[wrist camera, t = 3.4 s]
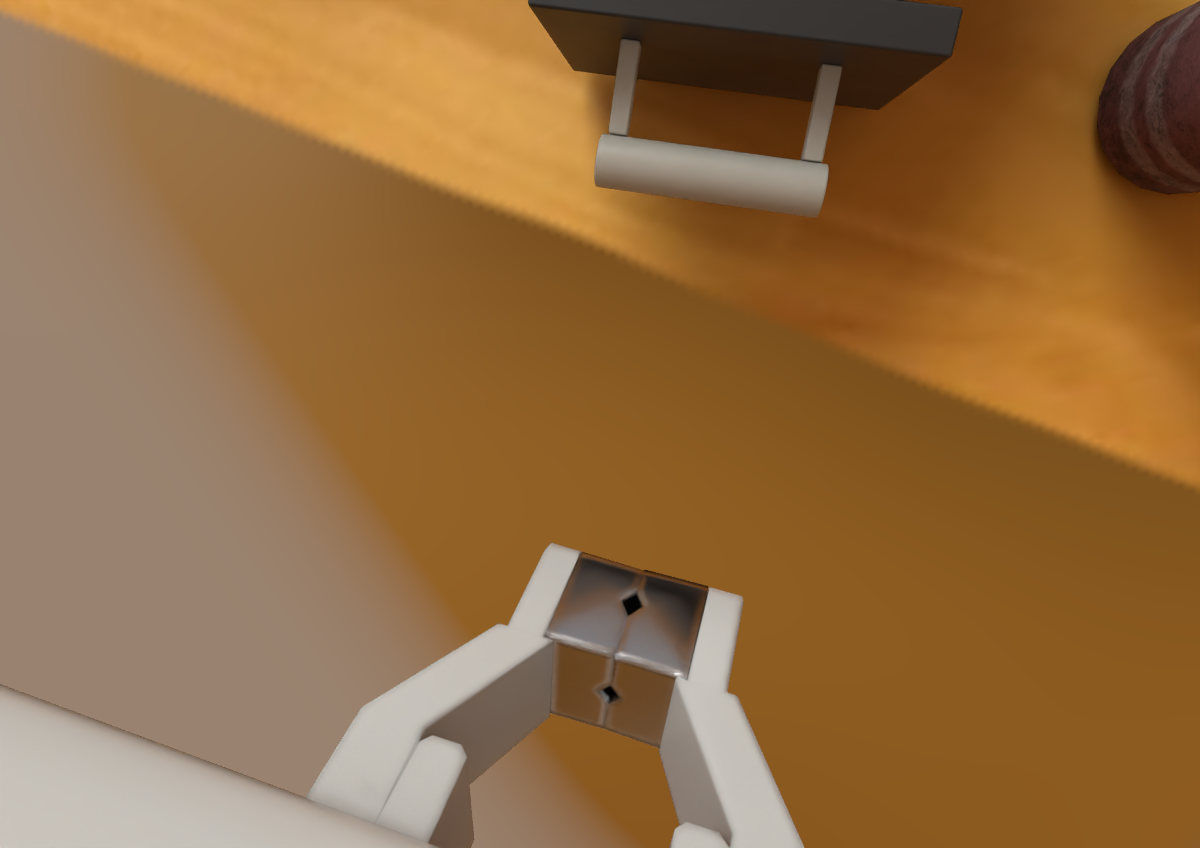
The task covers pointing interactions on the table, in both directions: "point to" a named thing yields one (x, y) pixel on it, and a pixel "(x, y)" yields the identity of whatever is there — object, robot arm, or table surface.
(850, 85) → the dark drawer with handle
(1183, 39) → the can
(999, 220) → the table surface
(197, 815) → the robot arm
